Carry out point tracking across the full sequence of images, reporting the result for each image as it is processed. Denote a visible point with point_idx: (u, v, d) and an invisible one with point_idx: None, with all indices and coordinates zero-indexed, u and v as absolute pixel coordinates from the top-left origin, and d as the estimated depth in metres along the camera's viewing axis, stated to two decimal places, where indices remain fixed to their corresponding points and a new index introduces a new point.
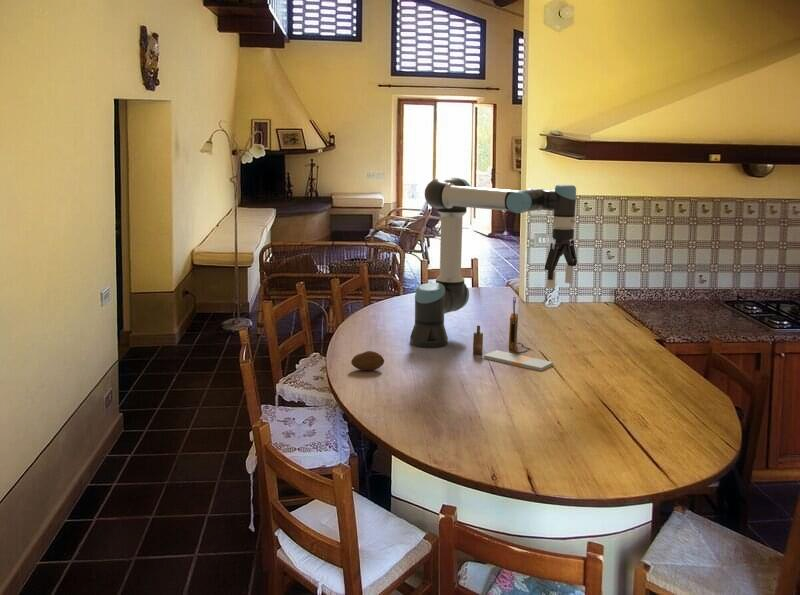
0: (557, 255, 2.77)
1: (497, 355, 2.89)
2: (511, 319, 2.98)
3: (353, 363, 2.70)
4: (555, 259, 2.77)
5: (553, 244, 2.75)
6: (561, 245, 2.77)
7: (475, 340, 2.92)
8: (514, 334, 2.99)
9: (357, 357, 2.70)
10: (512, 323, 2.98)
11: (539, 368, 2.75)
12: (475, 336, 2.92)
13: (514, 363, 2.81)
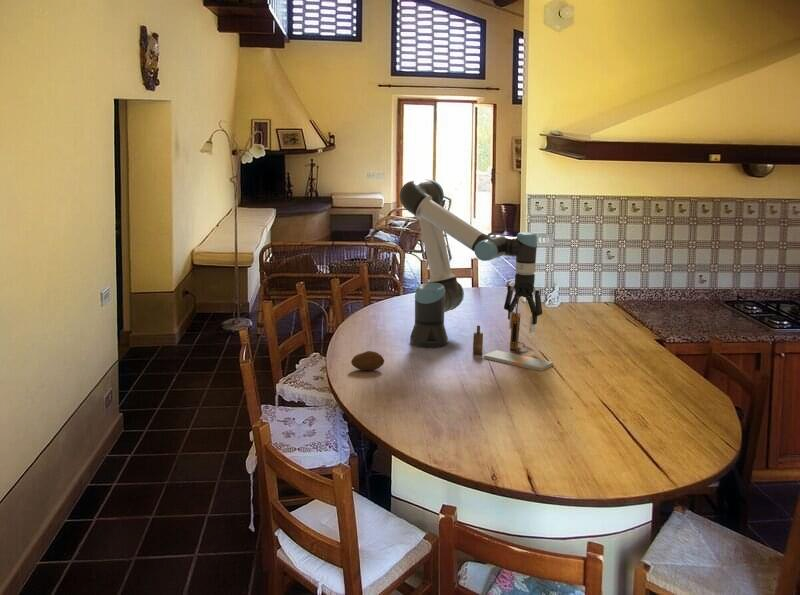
0: None
1: (497, 355, 2.89)
2: (513, 319, 2.97)
3: (353, 363, 2.70)
4: None
5: None
6: (516, 287, 2.99)
7: (475, 340, 2.92)
8: (516, 334, 2.98)
9: (357, 357, 2.70)
10: (514, 323, 2.98)
11: (539, 368, 2.75)
12: (475, 336, 2.92)
13: (514, 363, 2.81)
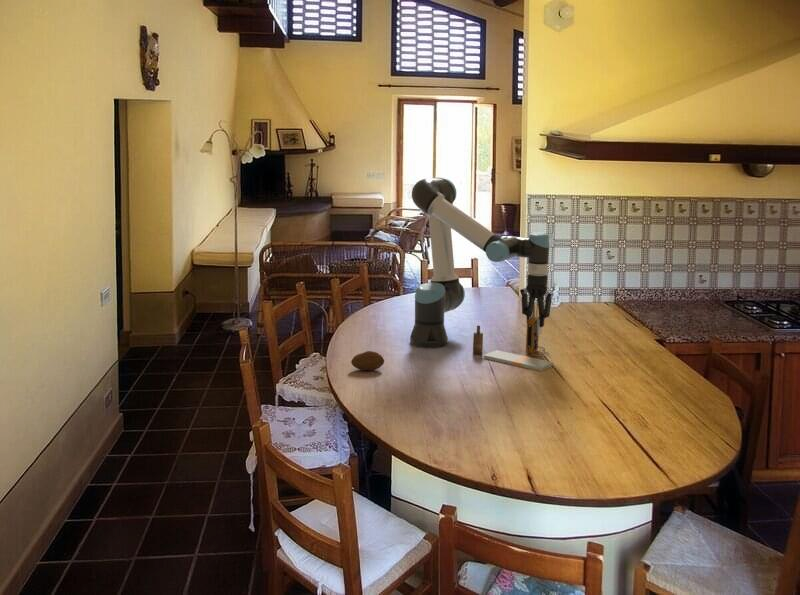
0: None
1: (497, 355, 2.89)
2: (528, 322, 2.93)
3: (353, 363, 2.70)
4: (528, 305, 2.98)
5: None
6: (529, 288, 2.96)
7: (475, 340, 2.92)
8: (531, 337, 2.93)
9: (357, 357, 2.70)
10: (529, 326, 2.93)
11: (539, 368, 2.75)
12: (475, 336, 2.92)
13: (514, 363, 2.81)
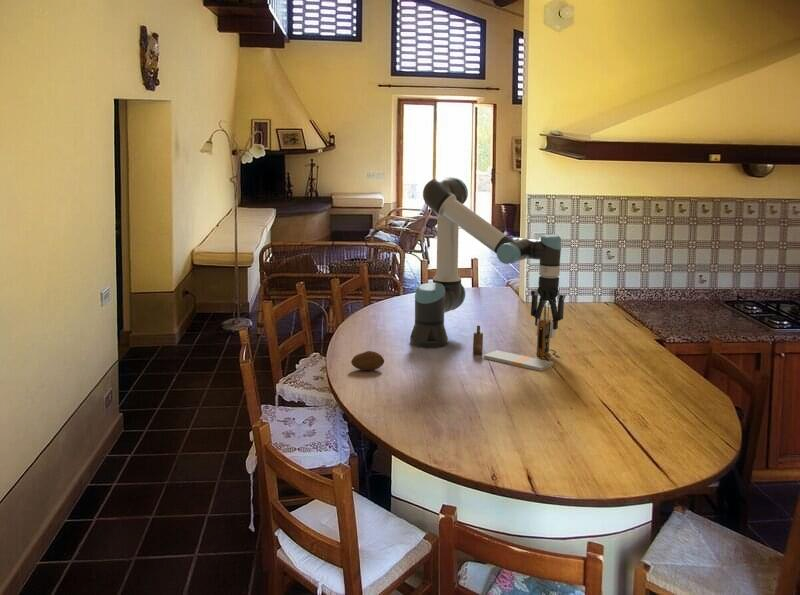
0: None
1: (497, 355, 2.89)
2: (539, 324, 2.90)
3: (353, 363, 2.70)
4: (538, 306, 2.95)
5: None
6: (540, 290, 2.93)
7: (475, 340, 2.92)
8: (542, 340, 2.90)
9: (357, 357, 2.70)
10: (540, 329, 2.90)
11: (539, 368, 2.75)
12: (475, 336, 2.92)
13: (514, 363, 2.81)
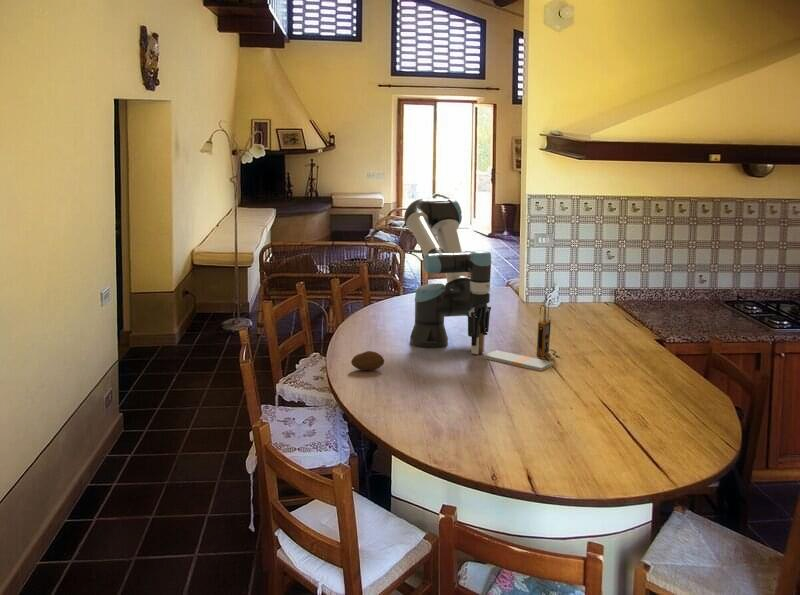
0: (476, 321, 2.90)
1: (497, 355, 2.89)
2: (539, 324, 2.90)
3: (353, 363, 2.70)
4: (475, 325, 2.90)
5: (469, 314, 2.86)
6: (477, 308, 2.88)
7: None
8: (542, 340, 2.90)
9: (357, 357, 2.70)
10: (540, 329, 2.90)
11: (539, 368, 2.75)
12: None
13: (514, 363, 2.81)
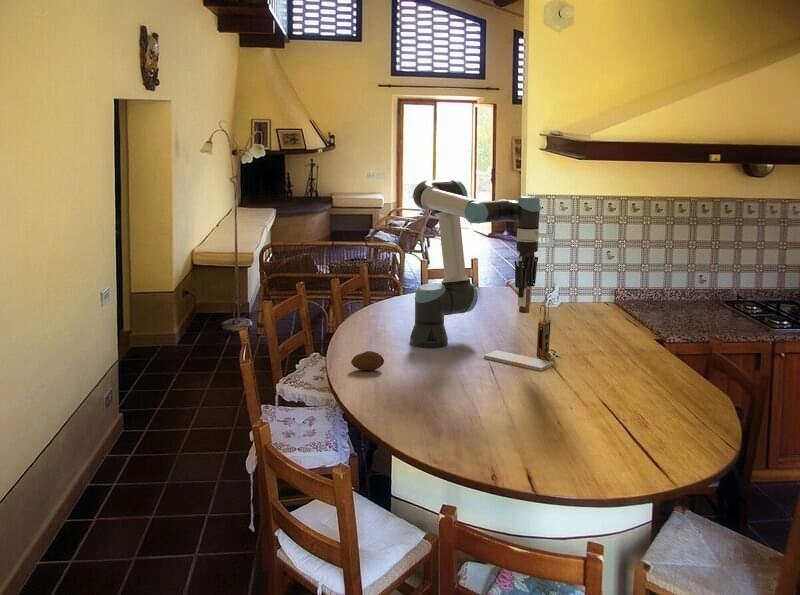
0: (524, 271, 2.74)
1: (497, 355, 2.89)
2: (539, 325, 2.90)
3: (353, 363, 2.70)
4: (523, 276, 2.74)
5: (517, 263, 2.70)
6: (525, 257, 2.72)
7: None
8: (542, 340, 2.90)
9: (357, 357, 2.70)
10: (540, 329, 2.90)
11: (539, 368, 2.75)
12: None
13: (514, 363, 2.81)
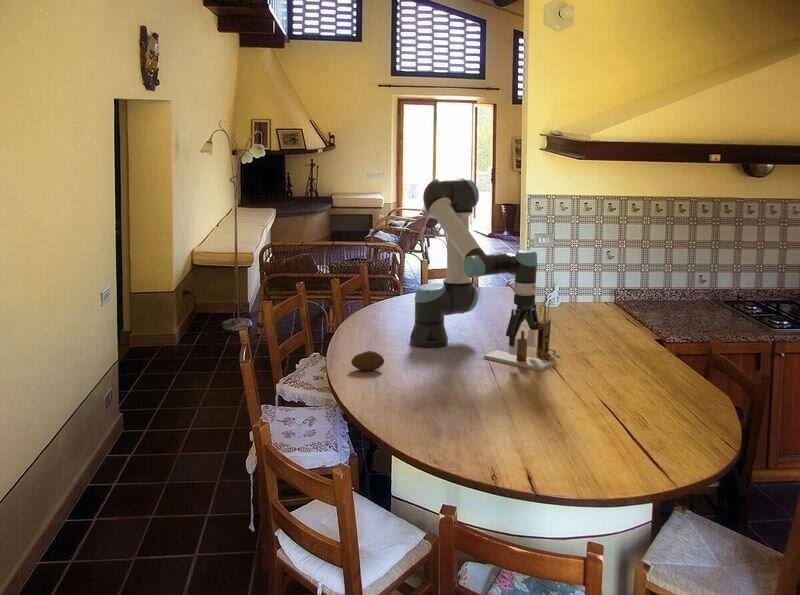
0: (518, 321, 2.76)
1: (497, 355, 2.89)
2: (539, 324, 2.90)
3: (353, 363, 2.70)
4: (516, 325, 2.75)
5: (514, 311, 2.74)
6: (522, 311, 2.76)
7: (520, 346, 2.81)
8: (542, 340, 2.90)
9: (357, 357, 2.70)
10: (540, 329, 2.90)
11: (539, 368, 2.75)
12: (520, 342, 2.80)
13: (514, 363, 2.81)
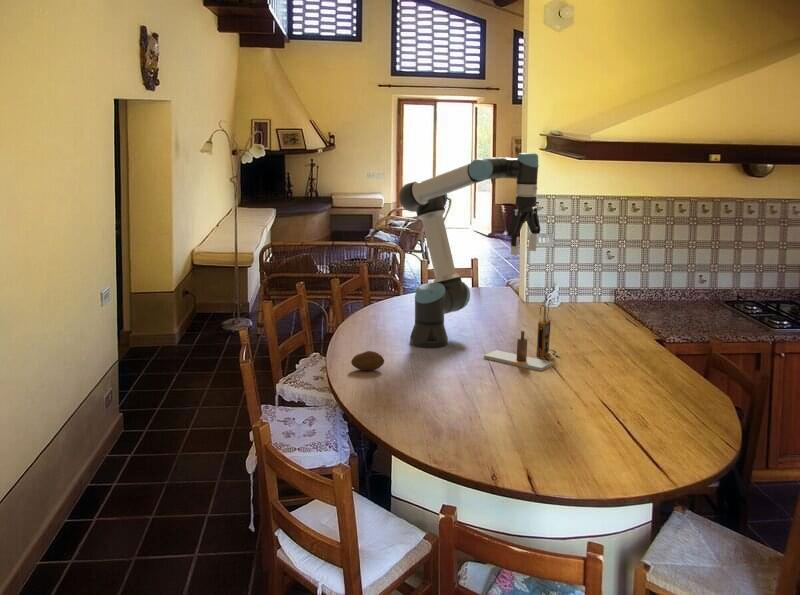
0: (520, 222, 2.83)
1: (497, 355, 2.89)
2: (539, 325, 2.90)
3: (353, 363, 2.70)
4: (518, 226, 2.82)
5: (516, 211, 2.80)
6: (524, 212, 2.83)
7: (520, 346, 2.81)
8: (542, 340, 2.90)
9: (357, 357, 2.70)
10: (540, 329, 2.90)
11: (539, 368, 2.75)
12: (520, 342, 2.80)
13: (514, 363, 2.81)
